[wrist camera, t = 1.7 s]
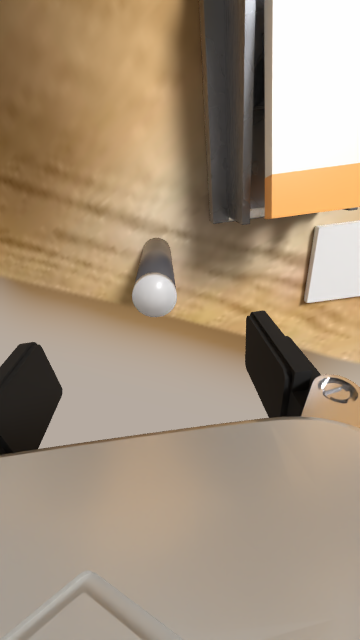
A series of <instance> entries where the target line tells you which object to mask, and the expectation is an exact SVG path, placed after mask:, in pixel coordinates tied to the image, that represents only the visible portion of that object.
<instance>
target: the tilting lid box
mask: <svg viewBox="0 0 360 640" xmlns="http://www.w3.org/2000/svg"><path fill="white" fill-rule="evenodd" d="M199 15H200V35H201V55H202V75H203V95H204V115H205V135H206V155H207V175H208V195H209V215H210V221H211V222H212V223H213V224H216V223H223V222H231V221H236V222H238V223H240V224H242V225H245V224H250V219H253V218H261V217H265V60H264V0H199ZM357 208H358V207H355V208H347V209H344V210H357Z"/></svg>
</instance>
